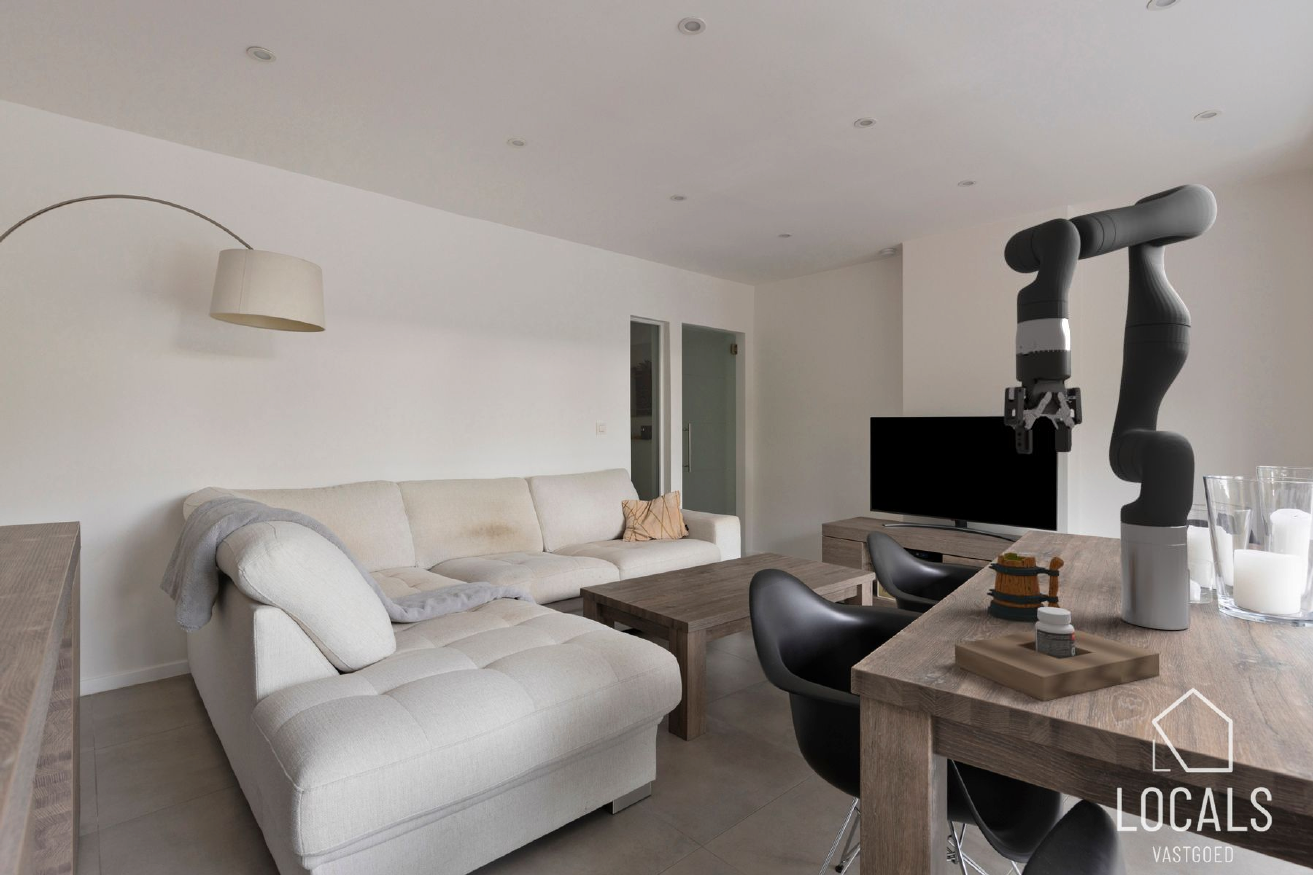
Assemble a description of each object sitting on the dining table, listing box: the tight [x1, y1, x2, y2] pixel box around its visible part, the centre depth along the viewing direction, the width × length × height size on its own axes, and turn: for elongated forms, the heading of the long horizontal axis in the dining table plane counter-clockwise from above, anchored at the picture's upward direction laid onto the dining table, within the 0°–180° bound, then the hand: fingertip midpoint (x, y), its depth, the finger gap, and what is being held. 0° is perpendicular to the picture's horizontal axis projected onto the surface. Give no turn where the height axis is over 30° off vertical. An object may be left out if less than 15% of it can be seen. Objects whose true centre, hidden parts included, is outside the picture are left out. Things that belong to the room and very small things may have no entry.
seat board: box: [954, 628, 1160, 702], centre depth 92 cm, size 22×14×3 cm, turn 111°
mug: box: [986, 551, 1065, 623], centre depth 119 cm, size 13×10×12 cm
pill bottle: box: [1034, 606, 1075, 659], centre depth 92 cm, size 5×5×8 cm
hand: (1044, 452), depth 104 cm, fingers open, 8 cm apart
